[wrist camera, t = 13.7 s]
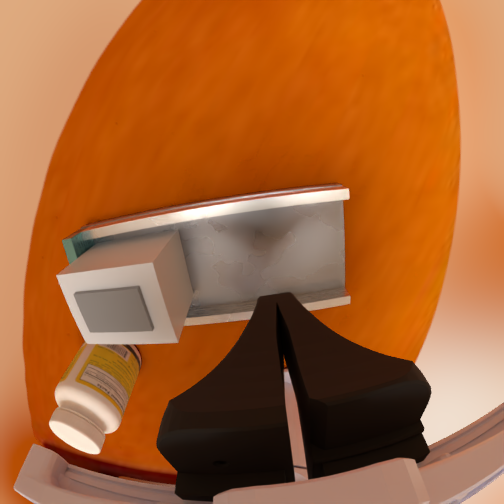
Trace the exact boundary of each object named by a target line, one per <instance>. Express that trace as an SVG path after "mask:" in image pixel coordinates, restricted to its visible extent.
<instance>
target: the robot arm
mask: <svg viewBox="0 0 504 504" xmlns="http://www.w3.org/2000/svg"><path fill="white" fill-rule="evenodd" d="M283 354H284V355H283ZM284 358H285V361H286V365H287V368H288V369H284ZM430 395H431V386H430V385H429V383H428V382H427V380H426V378H425V377H424V375H423V374H422V373H421V371H420V370H419V369H418V367H417V366H416V365H415V364H414V362H413V361H409V360H404V359H400V358H396V357H391V356H387V355H384V354H381V353H378V352H375V351H372V350H370V349H367V348H364V347H362V346H360V345H358V344H356V343H354V342H351V341H349V340H347V339H346V338H344V337H342V336H340V335H339V334H337V333H335V332H334V331H332V330H331V329H330V328H328V327H327V326H326V325H324V324H323V323H322V322H320V321H319V320H318V319H317V318H316V317H315V316H313V315H312V314H311V313H310V312H309V311H308V310H307V309H306V308H305V307H304V306H303V305H302V304H301V303H300V302H299V301H298V300H297V298H296V297H295V296H294V295H293V293H291V292H285V293H278V294H272V295H265V296H260V297H259V298H258V299H257V303H256V306H255V309H254V312H253V314H252V316H251V318H250V320H249V322H248V324H247V326H246V328H245V330H244V331H243V333H242V335H241V336H240V338H239V340H238V341H237V342H236V344H235V345H234V347H233V348H232V349H231V351H230V352H229V353H228V354H227V356H226V357H225V358H224V359H223V360H222V361H221V362H220V363H219V364H218V365H217V366H216V367H215V368H214V369H213V370H212V371H211V372H210V373H209V374H208V375H207V376H206V377H204V378H203V379H202V380H200V381H199V382H198V383H197V384H195V385H194V386H192V387H191V388H190V389H188V390H186V391H185V392H183V393H182V394H180V395H179V396H177V397H175V398H174V399H172V400H170V401H169V403H168V406H167V408H166V410H165V413H164V415H163V418H162V421H161V425H160V429H159V433H158V437H157V448H158V450H159V451H160V453H161V454H162V455H163V456H164V457H165V459H166V460H167V461H168V462H169V463H170V464H171V465H172V466H173V467H174V468H175V469H176V470H177V471H178V473H177V479H176V486H175V487H169V486H161V485H153V484H147V483H140V482H135V481H130V480H125V479H120V478H116V477H112V476H108V475H104V474H100V473H96V472H93V471H89V470H86V469H83V468H80V467H76V466H73V465H70V464H68V463H67V462H66V461H65V460H64V459H63V458H62V457H61V456H60V455H58V454H57V453H55V452H54V451H52V450H49V449H47V448H44V447H42V446H39V445H37V444H33V445H32V448H31V450H30V452H29V454H28V456H27V458H26V460H25V462H24V464H23V467H22V469H21V471H20V473H19V476H18V478H17V480H16V483H15V485H14V490H15V491H17V492H18V493H19V494H21V495H22V496H24V497H25V498H27V499H28V500H30V501H31V502H33V503H35V504H460V503H462V502H463V501H465V500H466V499H468V498H470V497H471V496H473V495H474V494H476V493H477V492H479V491H480V490H482V489H483V488H485V487H486V486H487V485H489V484H490V483H491V482H493V481H494V480H495V479H497V478H498V477H499V476H500V475H502V474H503V473H504V403H502V404H501V405H499V406H498V407H497V408H495V409H494V410H492V411H491V412H489V413H488V414H486V415H484V416H483V417H481V418H480V419H478V420H477V421H475V422H473V423H471V424H470V425H468V426H466V427H465V428H463V429H461V430H459V431H457V432H455V433H454V434H452V435H450V436H448V437H446V438H444V439H442V440H440V441H438V442H436V443H434V444H432V445H430V446H428V445H427V443H426V441H425V439H424V437H423V435H422V432H423V431H424V426H423V424H422V422H421V420H420V418H421V416H422V414H423V412H424V410H425V408H426V406H427V404H428V402H429V399H430Z"/></svg>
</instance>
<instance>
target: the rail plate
mask: <svg viewBox="0 0 504 504" xmlns="http://www.w3.org/2000/svg"><path fill="white" fill-rule="evenodd" d="M347 199H349V189H348V188H346V187H344V186H342V185H341V184H339V183H332V184H321V185H312V186H303V187H294V188H286V189H278V190H270V191H262V192H255V193H248V194H241V195H234V196H228V197H221V198H215V199H209V200H203V201H197V202H192V203H186V204H180V205H175V206H170V207H164V208H159V209H154V210H149V211H144V212H139V213H135V214H130V215H125V216H121V217H116V218H112V219H108V220H103V221H99V222H95V223H91V224H86V225H85V226H83V227H81V229H79V230H78V231H76V232H74V233H73V234H71V235H70V236H68V237H66V238H65V239H63V240H62V242H63V245H64V249H65V252H66V255H67V258H68V261H69V264H71V263H72V262H73V261H75V260H76V259H77V258H78V257H80V256H81V255H82V254H83V253H85V252H86V251H87V250H89V249H90V248H91V247H93V246H94V245H95V244H97V243H101V242H106V241H112V240H117V239H123V238H128V237H134V236H140V235H146V234H152V233H158V232H164V231H170V230H176V229H178V231H179V235H180V240H181V244H182V249H183V253H184V257H185V262H186V266H187V270H188V274H189V278H190V282H191V286H192V290H193V294H194V295H193V298H192V301H191V304H190V307H189V310H188V313H187V317H186V320H185V323H184V326H189V325H201V324H212V323H221V322H231V321H240V320H248V319H250V318H251V316H252V314H253V312H254V309H255V306H256V303H257V299H258V298H259V297H260V296H265V295H272V294H278V293H285V292H291V293H293V295H294V296H295V297H296V298H297V300H298V301H299V302H300V303H301V304H302V305H303V306H304V307H305V308H306V309H307V310H308V311H311V310H317V309H323V308H329V307H335V306H340V305H346V304H350V294H349V293H348V291H347V290H346V288H345V237H344V211H343V200H347Z"/></svg>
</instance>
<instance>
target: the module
mask: <svg viewBox="0 0 504 504" xmlns="http://www.w3.org/2000/svg"><path fill="white" fill-rule="evenodd" d="M56 276H57V279H58V281H59V284H60V286H61V289H62V291H63V294H64V296H65V299H66V301H67V303H68V306H69V308H70V310H71V312H72V315H73V317H74V319H75V321H76V323H77V325H78V327H79V329H80V332H81V334H82V336H83V338H84V339H85V341H86V343H87V344H161V343H178V342H179V339H180V336H181V332H182V329H183V326H184V323H185V320H186V317H187V313H188V310H189V307H190V304H191V301H192V298H193V295H194V294H193V290H192V286H191V282H190V278H189V274H188V270H187V266H186V262H185V257H184V253H183V249H182V244H181V240H180V235H179V231H178V229H176V230H170V231H164V232H158V233H152V234H146V235H140V236H134V237H128V238H123V239H117V240H112V241H106V242H101V243H97V244H95V245H94V246H93V247H91V248H90V249H89V250H87V251H86V252H85V253H83V254H82V255H81V256H80V257H78V258H77V259H76V260H75V261H73V262H72V263H71V264H70V265H68V266H67V267H66V268H65V269H63V270H62V271H61V272H60V273H59V274H57V275H56Z"/></svg>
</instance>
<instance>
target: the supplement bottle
mask: <svg viewBox="0 0 504 504" xmlns="http://www.w3.org/2000/svg"><path fill="white" fill-rule="evenodd" d="M140 367H141V357H140V354H139V352H138V350H137V348H136V347H135V346H134V344H87V343H86V341H85V342H84V343H83V345H82V346H81V348H80V350H79V351H78V353H77V354H76V356H75V357H74V359H73V360H72V362H71V364H70V365H69V367H68V368H67V370H66V372H65V373H64V375H63V377H62V378H61V380H60V382H59V384H58V385H57V387H56V390H55V399H56V402H57V404H58V406H59V407H58V408H56V410H55V411H54V413H53V415H52V417H51V419H50V421H49V426H50V428H51V429H52V431H53V432H54V433H55V434H56V435H57V436H58V437H59V438H60V439H62V440H63V441H65V442H66V443H67V444H69V445H71V446H72V447H74V448H76V449H79V450H81V451H83V452H86V453H90V454H98V453H100V451H101V448H102V446H103V443H104V439H105V434H106V433H112V432H114V431H115V430H117V428H118V427H119V425H120V423H121V420H122V418H123V415H124V412H125V409H126V406H127V403H128V400H129V398H130V395H131V392H132V390H133V387H134V384H135V381H136V379H137V376H138V373H139V371H140Z"/></svg>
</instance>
